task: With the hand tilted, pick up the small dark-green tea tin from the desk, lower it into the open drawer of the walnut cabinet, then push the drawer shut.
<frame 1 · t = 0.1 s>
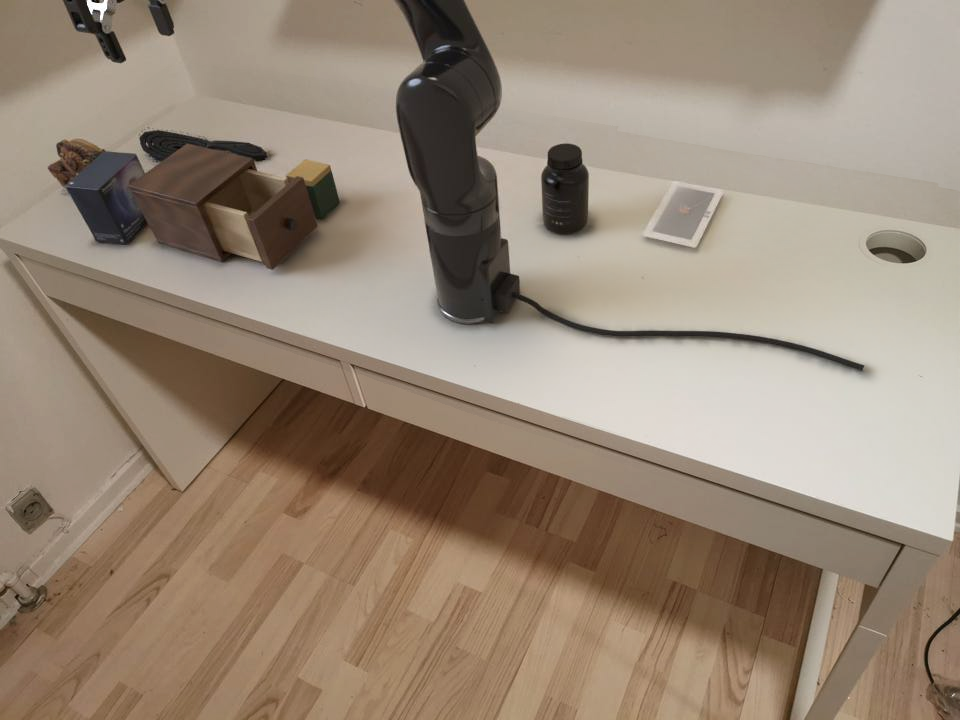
hand: (144, 47, 91), 29 cm above the table, tool pointing down, fingers open, 8 cm apart
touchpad: (682, 219, 104), on the table
drawer: (258, 215, 105), point 5 cm above the table, slide at 8.5 cm
small box: (131, 225, 116), on the table
wooden carving: (98, 197, 123), on the table
hairbrush: (206, 154, 130), on the table
cabinet: (216, 229, 112), on the table
tea tin: (319, 207, 114), on the table
supplement bottle: (565, 223, 106), on the table
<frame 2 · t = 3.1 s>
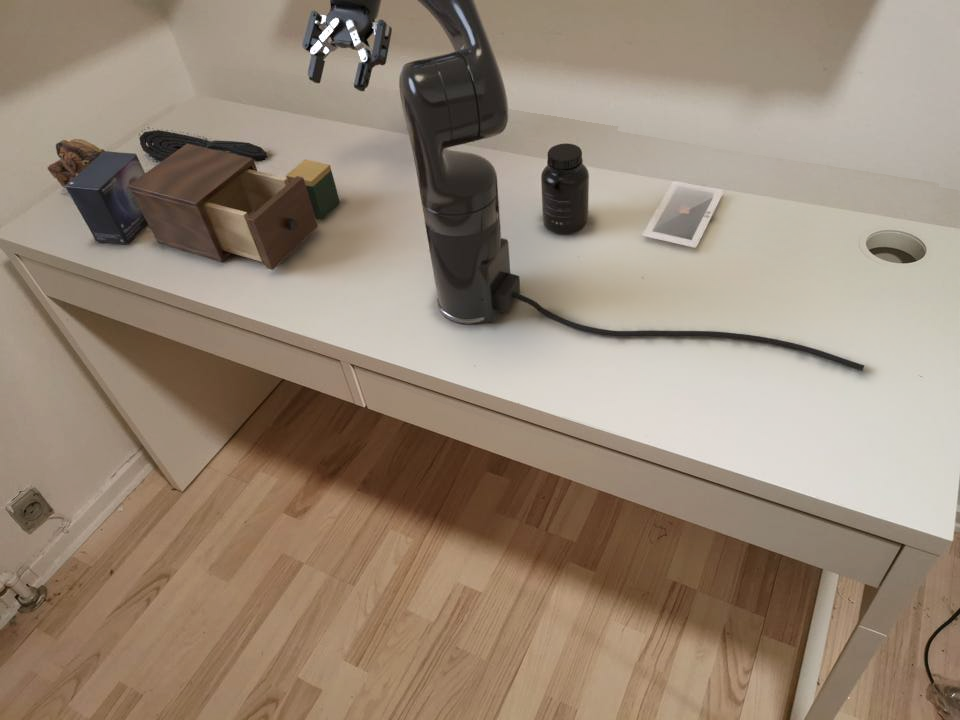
hand: (336, 85, 110), 15 cm above the table, tool tilted 45°, fingers open, 8 cm apart
nothing on the table moved.
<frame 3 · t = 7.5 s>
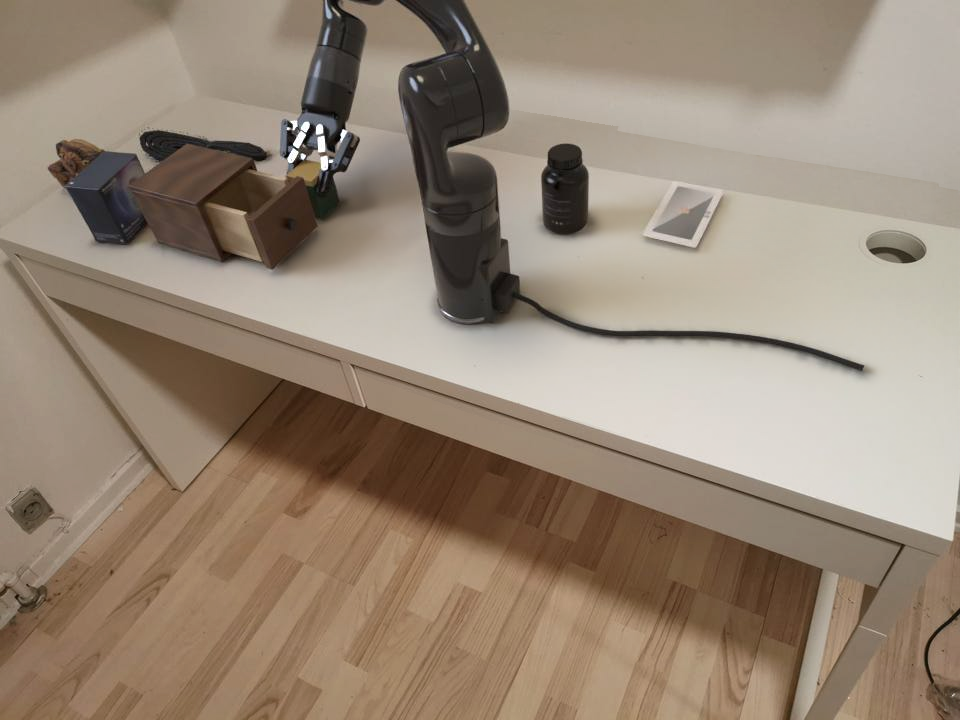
hand: (305, 191, 110), 4 cm above the table, tool tilted 45°, fingers closed on tea tin, 5 cm apart
tea tin: (319, 207, 114), on the table, touching gripper
everything else where it was.
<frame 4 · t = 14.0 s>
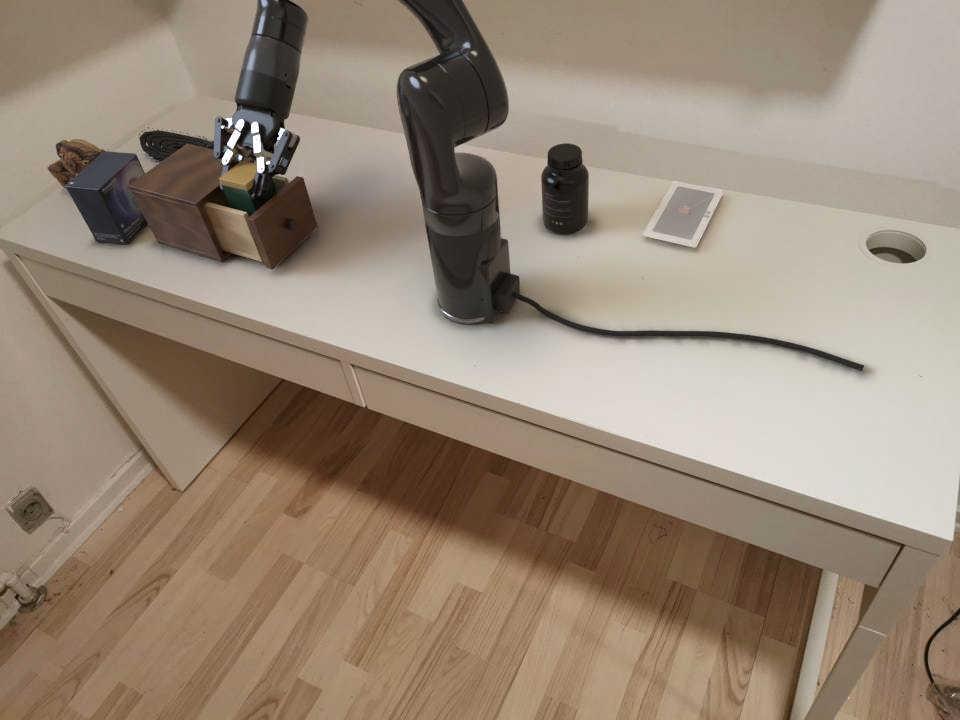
hand: (241, 196, 100), 10 cm above the table, tool tilted 45°, fingers closed on tea tin, 5 cm apart
tea tin: (259, 213, 104), point 6 cm above the table, touching gripper
everything else where it was.
when the fingers open (12 cm above the table, at t = 29.8 s): tea tin drops 6 cm, resting on drawer.
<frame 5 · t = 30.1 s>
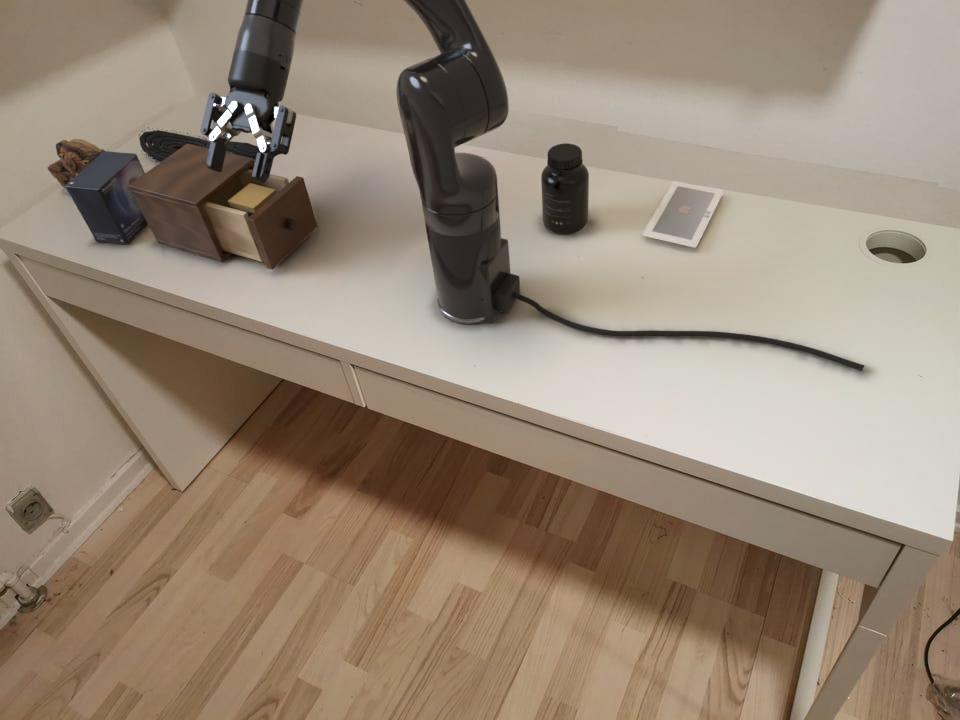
hand: (235, 175, 98), 13 cm above the table, tool tilted 45°, fingers open, 7 cm apart
drawer: (258, 215, 105), point 5 cm above the table, slide at 8.5 cm, touching tea tin
tea tin: (266, 234, 107), point 2 cm above the table, touching drawer
everything else where it was.
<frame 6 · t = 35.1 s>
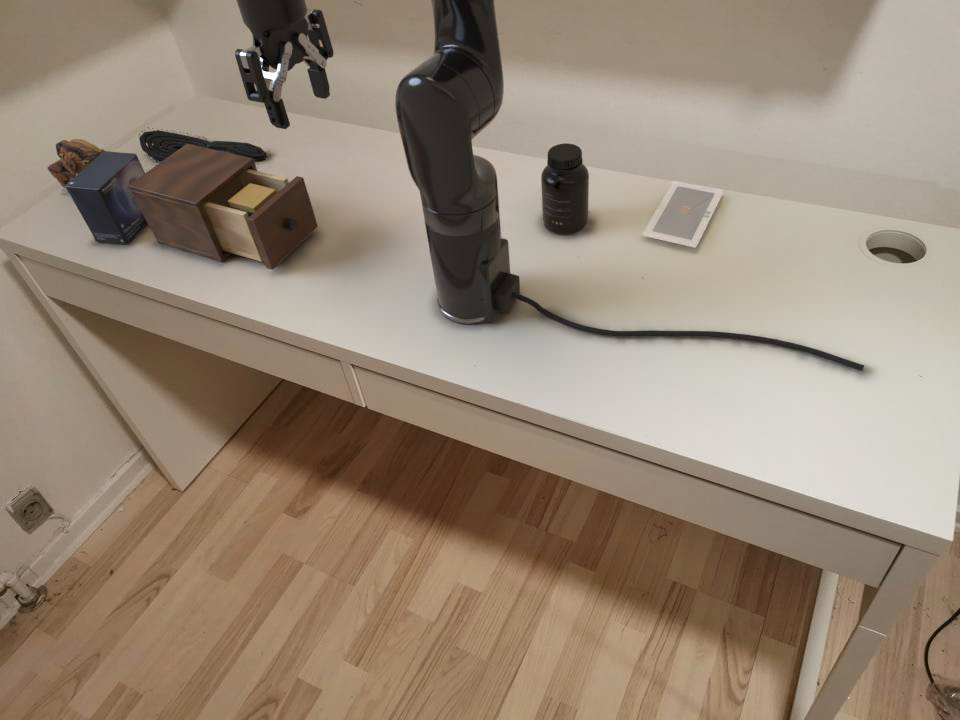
hand: (303, 111, 91), 22 cm above the table, tool pointing down, fingers open, 8 cm apart
nothing on the table moved.
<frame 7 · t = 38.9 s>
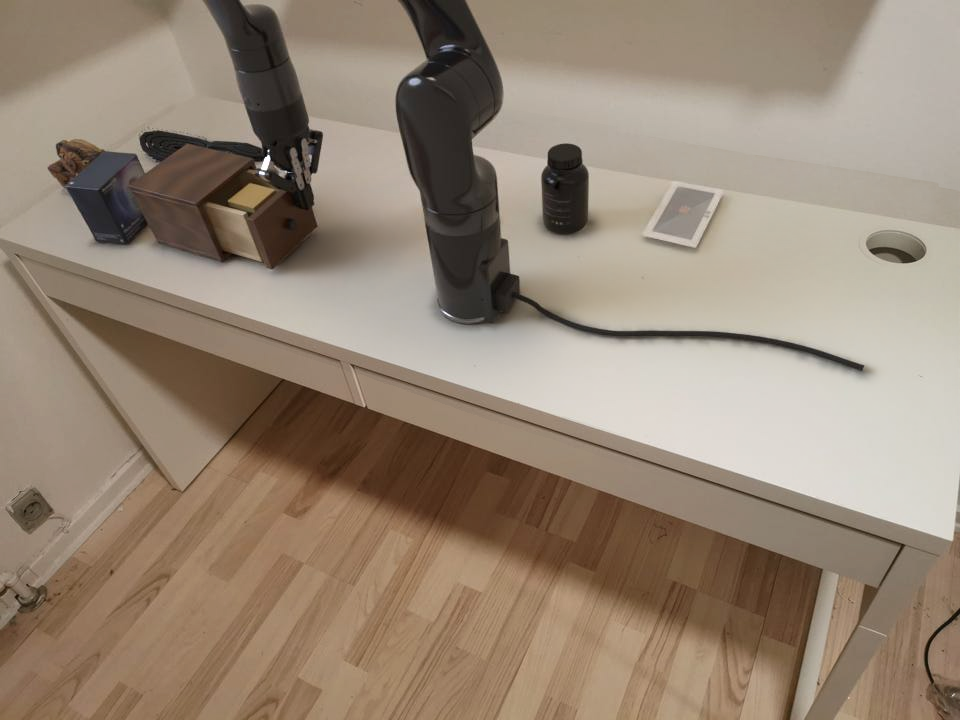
hand: (306, 206, 104), 6 cm above the table, tool pointing down, fingers closed
drawer: (258, 215, 105), point 5 cm above the table, slide at 8.5 cm, touching gripper, tea tin
everything else where it was.
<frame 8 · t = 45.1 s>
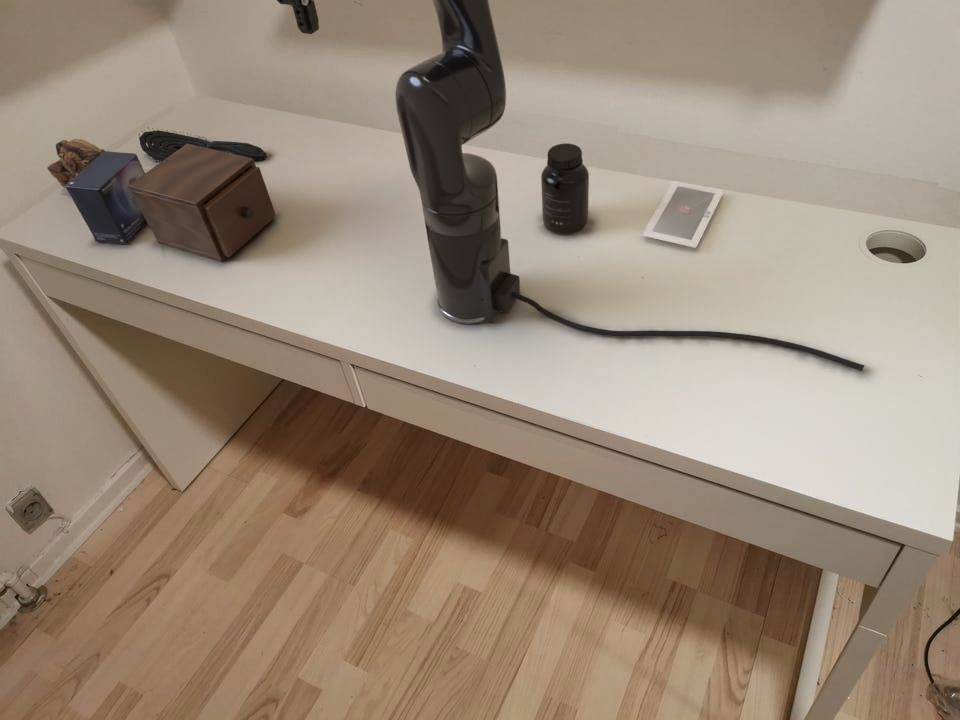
hand: (310, 31, 96), 27 cm above the table, tool pointing down, fingers closed
drawer: (216, 204, 108), point 5 cm above the table, slide at 0.1 cm, touching tea tin
tea tin: (225, 222, 110), point 2 cm above the table, touching drawer
everything else where it was.
at the end: tea tin inside the target area in the cabinet (2.3 cm from its centre), point 2.0 cm above the cabinet's base; drawer slide at 0.1 cm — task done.
